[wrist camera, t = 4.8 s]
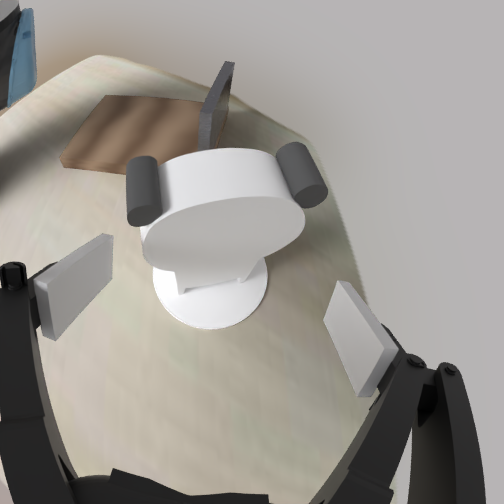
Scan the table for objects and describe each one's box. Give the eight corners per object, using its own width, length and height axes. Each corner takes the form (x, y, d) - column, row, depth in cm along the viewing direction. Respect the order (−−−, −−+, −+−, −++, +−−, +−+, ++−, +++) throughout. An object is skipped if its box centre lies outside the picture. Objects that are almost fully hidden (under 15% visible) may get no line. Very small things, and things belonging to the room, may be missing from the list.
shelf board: (63, 167, 30) (59, 157, 28) (107, 104, 36) (105, 95, 35) (204, 187, 32) (205, 176, 30) (226, 116, 38) (228, 106, 37)
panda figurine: (255, 215, 32) (292, 106, 18) (286, 313, 27) (365, 244, 14) (147, 232, 28) (119, 119, 15) (164, 340, 24) (121, 291, 11)
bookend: (197, 168, 31) (199, 112, 24) (218, 108, 36) (225, 61, 29) (207, 169, 31) (212, 114, 24) (227, 110, 36) (234, 62, 29)
